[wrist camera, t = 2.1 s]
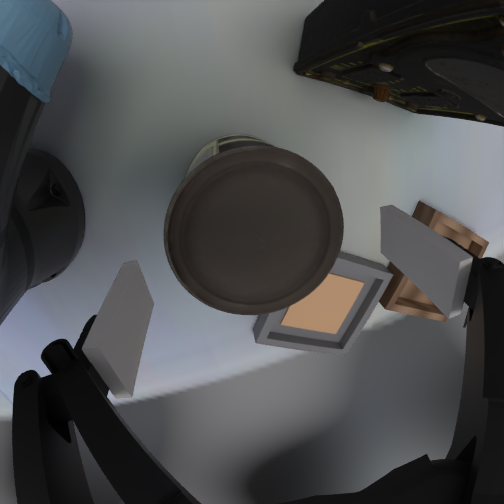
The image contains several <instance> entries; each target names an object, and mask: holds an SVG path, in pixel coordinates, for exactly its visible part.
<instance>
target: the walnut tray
mask: <svg viewBox="0 0 504 504" xmlns="http://www.w3.org/2000/svg"><path fill="white" fill-rule="evenodd" d="M412 217H413V218H415V219H416V220H418V221H420V222H421V223H423V224H424V225H426V226H428V227H429V228H431V229H432V230H434V231H435V232H437V233H438V234H440V235H441V236H445V237H447V238H450V239H452V240H454V241H455V242H457V243H458V244H459V245H461V246H463V247H464V248H466V249H467V250H468V251H470V252H471V253H473V254H474V255H476V256H477V257H478V258H480V259H481V258H482V256H483V254H484V252H485V250H486V248H487V246H488V244H489V242H488V241H486V240H485V239H483V238H482V237H480V236H478V235H477V234H475V233H474V232H472V231H471V230H469V229H467V228H466V227H464V226H462V225H461V224H459V223H458V222H456V221H454V220H453V219H451V218H449V217H447V216H446V215H444V214H442V213H441V212H439V211H437V210H435V209H433V208H432V207H430V206H428V205H426V204H424V203H422V202H420V201H419V202H418V205H417V207H416V209H415V211H414V214H413V216H412ZM387 269H388V270H389V271H390V272H391V273H392V274H393V276H392V278H391V280H390V282H389V284H388V286H387V287H386V289H385V291H384V293H383V295H382V296H381V298H380V300H379V302H380V304H381V305H382V306H383V307H384V309H386V310H391V311H396V312H400V313H405V314H410V315H415V316H420V317H425V318H430V319H435V320H440V321H446V320H447V319H448V318H447V317H446V316H445V315H444V314H443V313H442V312H441V311H440V310H439V309H438V308H437V307H436V306H435V304H434V303H433V302H432V301H431V300H430V299H429V298H428V297H427V296H426V295H425V294H424V293H423V292H422V291H421V290H420V289H419V288H418V287H417V286H416V285H415V284H414V283H413V282H412V281H411V280H410V279H408V278H407V277H406V276H405V275H404V274H403V273H402V272H401V271H400V270H399V269H398V268H397V267H396V266H395V265H394V264H393V263H392V262H390V264H389V266H388V268H387Z"/></svg>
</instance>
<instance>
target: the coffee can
mask: <svg viewBox="0 0 504 504" xmlns="http://www.w3.org/2000/svg"><path fill="white" fill-rule="evenodd" d="M343 230H344V223H343V214H342V210H341V206H340V202H339V199H338V197H337V195H336V192H335V190H334V188H333V186H332V185H331V183H330V182H329V180H328V179H327V178H326V177H325V175H324V174H323V173H322V172H321V171H320V170H319V169H318V168H317V167H316V166H314V165H313V164H312V163H310V162H309V161H308V160H306V159H304V158H303V157H301V156H299V155H297V154H295V153H293V152H290V151H288V150H284V149H281V148H277V147H275V146H273V145H271V144H268V143H267V142H265V141H263V140H261V139H259V138H257V137H254V136H250V135H244V134H233V135H227V136H223V137H220V138H218V139H215V140H213V141H211V142H210V143H208V144H207V145H206V146H205V147H203V148H202V149H201V150H200V151H199V152H198V154H197V155H196V156H195V158H194V159H193V161H192V163H191V165H190V167H189V169H188V172H187V174H186V176H185V178H184V180H183V181H182V183H181V184H180V186H179V187H178V188H177V190H176V192H175V193H174V195H173V197H172V199H171V202H170V204H169V207H168V210H167V214H166V217H165V223H164V247H165V251H166V256H167V259H168V262H169V264H170V267H171V269H172V271H173V273H174V274H175V276H176V278H177V279H178V281H179V282H180V283H181V285H182V286H183V287H184V288H185V289H186V290H187V291H188V292H189V293H190V294H191V295H192V296H194V297H195V298H196V299H198V300H199V301H201V302H202V303H204V304H206V305H208V306H210V307H212V308H215V309H217V310H220V311H224V312H227V313H232V314H240V315H261V314H267V313H272V312H276V311H279V310H282V309H285V308H287V307H289V306H291V305H293V304H295V303H297V302H299V301H300V300H302V299H303V298H305V297H306V296H308V295H309V294H310V293H312V292H313V291H314V290H315V289H316V288H317V287H318V286H319V285H320V284H321V283H322V282H323V281H324V279H325V278H326V277H327V275H328V274H329V272H330V271H331V269H332V268H333V265H334V264H335V261H336V259H337V257H338V254H339V251H340V248H341V244H342V240H343Z"/></svg>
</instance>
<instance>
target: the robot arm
mask: <svg viewBox="0 0 504 504" xmlns="http://www.w3.org/2000/svg"><path fill="white" fill-rule="evenodd" d="M71 42H72V28H71V24H70V22H69V20H68V18H67V16H66V15H65V14H64V12H63V11H62V10H61V9H60V8H59V7H58V6H57V5H56V4H55V3H53V2H52V1H51V0H0V325H1V324H2V322H3V321H4V320H5V318H6V317H7V315H8V314H9V313H10V311H11V310H12V309H13V307H14V306H15V305H16V303H17V302H18V301H19V300H20V298H21V297H22V296H23V295H24V293H25V292H26V291H27V290H29V289H31V288H33V287H35V286H38V285H39V284H41V283H43V282H47V281H49V280H52V279H54V278H55V277H57V276H58V275H60V274H61V273H62V272H63V271H64V270H65V269H66V268H67V267H68V265H69V264H70V263H71V262H72V261H73V259H74V258H75V257H76V255H77V253H78V251H79V249H80V247H81V244H82V241H83V237H84V231H85V213H84V206H83V201H82V198H81V194H80V192H79V189H78V187H77V185H76V183H75V181H74V179H73V177H72V176H71V174H70V173H69V171H68V170H67V169H66V167H65V166H64V165H63V164H62V163H61V162H60V161H59V160H57V159H56V158H55V157H53V156H52V155H50V154H48V153H46V152H44V151H41V150H37V149H28V148H29V145H30V142H31V139H32V136H33V133H34V131H35V128H36V125H37V123H38V120H39V117H40V115H41V112H42V110H43V107H44V105H45V103H48V102H49V101H50V99H51V93H50V91H51V88H52V86H53V84H54V81H55V79H56V77H57V74H58V72H59V70H60V68H61V65H62V63H63V61H64V59H65V57H66V55H67V53H68V51H69V48H70V45H71ZM380 212H381V253H382V254H383V255H384V256H385V257H386V258H387V259H389V260H390V261H391V262H392V263H393V264H394V265H395V266H396V267H397V268H398V269H399V270H400V271H401V272H402V273H403V274H404V275H405V276H406V277H407V278H408V279H410V280H411V281H412V282H413V283H414V284H415V285H416V286H417V287H418V288H419V289H420V290H421V291H422V292H423V293H424V294H425V295H426V296H427V297H428V298H429V299H430V300H431V301H432V302H433V303H434V304H435V306H436V307H437V308H438V309H439V310H440V311H441V312H442V313H443V314H444V315H445V316H446V317H447V318H448V319H450V318H452V317H454V316H457V315H459V314H461V311H462V307H463V303H464V302H465V303H466V304H467V305H468V306H469V308H468V312H467V316H466V319H465V323H464V326H463V327H466V325H467V337H466V354H465V365H464V375H463V384H462V392H461V399H460V406H459V412H458V417H457V422H456V427H455V432H454V437H453V441H452V445H451V448H450V450H449V452H448V454H447V456H446V458H445V459H439V460H432V461H430V459H429V457H428V455H427V454H426V455H424V456H422V457H420V458H418V459H415V460H413V461H411V462H409V463H407V464H405V465H402V466H400V467H398V468H396V469H393V470H392V471H391V472H389V473H388V474H386V475H385V476H384V477H382V478H380V479H379V480H377V481H376V482H374V483H373V484H371V485H370V486H368V487H367V488H365V489H363V490H362V491H359V492H355V493H347V494H346V493H345V494H333V495H316V496H312V497H308V498H303V499H299V500H295V501H290V502H285V503H280V504H504V264H503V263H502V262H501V261H499V260H497V259H495V258H491V257H485V258H481V259H480V258H478V257H477V256H476V255H474V254H473V253H471V252H470V251H468V250H467V249H466V248H464V247H463V246H461V245H459V244H458V243H457V242H455V241H454V240H452V239H450V238H447V237H445V236H441V235H440V234H438V233H437V232H435V231H434V230H432V229H431V228H429V227H428V226H426V225H424V224H423V223H421V222H420V221H418V220H416V219H415V218H413V217H411V216H410V215H408V214H407V213H405V212H403V211H402V210H400V209H398V208H397V207H395V206H393V205H388V206H383V207H380ZM153 306H154V302H153V300H152V297H151V295H150V292H149V290H148V287H147V285H146V282H145V280H144V277H143V275H142V272H141V270H140V267H139V264H138V262H137V260H135V261H130V262H126V263H124V264H123V266H122V268H121V269H120V271H119V273H118V275H117V277H116V279H115V281H114V283H113V285H112V286H111V288H110V290H109V292H108V294H107V296H106V298H105V300H104V302H103V304H102V306H101V308H100V310H99V312H98V315H93V316H92V317H91V318H90V319H89V320H88V322H87V323H86V324H85V326H84V328H83V332H82V333H81V335H80V338H79V339H78V341H77V343H76V345H75V347H74V349H73V348H72V346H71V345H70V343H69V342H68V341H67V340H66V339H58V340H55V341H53V342H51V343H50V344H49V345H47V346H46V348H45V349H44V350H43V352H42V354H41V359H42V361H43V362H44V364H45V365H46V366H47V368H48V369H49V371H50V372H51V373H52V374H51V375H48V376H45V377H42V378H41V377H40V376H39V374H38V373H37V372H36V371H35V370H29V371H26V372H24V373H22V374H21V375H20V376H19V377H18V379H17V380H16V382H15V385H14V397H13V418H12V445H13V465H14V478H15V487H16V496H17V503H18V504H94V502H93V499H92V496H91V492H90V489H89V486H88V483H87V479H86V476H85V472H84V468H83V464H82V460H81V456H80V453H79V448H78V443H77V439H76V434H75V428H74V424H73V421H74V422H75V425H76V426H77V428H78V430H79V432H80V434H81V436H82V438H83V439H84V441H85V443H86V445H87V447H88V448H89V450H90V452H91V453H92V455H93V457H94V458H95V460H96V461H97V463H98V465H99V467H100V468H101V469H102V471H103V473H104V474H105V476H106V477H107V479H108V480H109V482H110V483H111V485H112V486H113V488H114V489H115V490H116V492H117V493H118V495H119V496H120V497H121V499H122V500H123V501H124V503H125V504H201V503H200V502H199V501H198V500H196V498H194V497H193V496H192V495H191V494H190V493H189V492H188V491H187V490H186V489H185V488H184V487H183V486H182V485H181V484H180V483H179V482H178V481H177V480H176V479H175V478H174V477H173V476H172V475H171V474H170V473H169V472H168V471H167V470H166V469H165V468H164V467H163V466H162V464H161V463H160V462H159V461H158V460H157V459H156V458H155V457H154V456H153V455H152V453H151V452H150V451H149V450H148V449H147V448H146V446H145V445H144V444H143V443H142V442H141V440H140V439H139V438H138V437H137V436H136V434H135V433H134V432H133V431H132V429H131V428H130V427H129V426H128V424H127V423H126V422H125V421H124V419H123V418H122V417H121V415H120V414H119V413H118V411H117V410H116V409H115V407H114V406H113V404H112V403H111V402H110V400H109V399H108V398H107V395H108V391H109V390H110V391H111V393H112V394H113V395H114V397H115V398H130V397H132V396H133V391H134V386H135V381H136V376H137V372H138V367H139V363H140V358H141V354H142V350H143V345H144V341H145V337H146V333H147V329H148V325H149V321H150V317H151V313H152V309H153Z"/></svg>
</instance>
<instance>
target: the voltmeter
mask: <svg viewBox="0 0 504 504" xmlns="http://www.w3.org/2000/svg"><path fill="white" fill-rule="evenodd" d="M294 71H296V74H298V75H302V76H306V77H310V78H313V79H317V80H321V81H325V82H328V83H332V84H335V85H338V86H342V87H345V88H348V89H351V90H354V91H357V92H360V93H363V94H366V95H369V96H372V97H374V99H375V100H377V101H380V102H385V101H386V102H388V103H391V104H393V105H396V106H399V107H401V108H403V109H406V110H408V111H411V112H413V113H417V114H425V115H435V116H443V117H451V118H458V119H465V120H471V121H477V122H483V123H488V124H493V125H498V126H503V127H504V0H324V1H323V2H322V3H321V4H320V5H319V6H318V7H317V8H316V9H314V10H313V11H312V12H311V13H310V14H309V15H308V16H307V17H306V20H305V26H304V32H303V38H302V43H301V49H300V55H299V60H298V62H296V63H295V66H294Z"/></svg>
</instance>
